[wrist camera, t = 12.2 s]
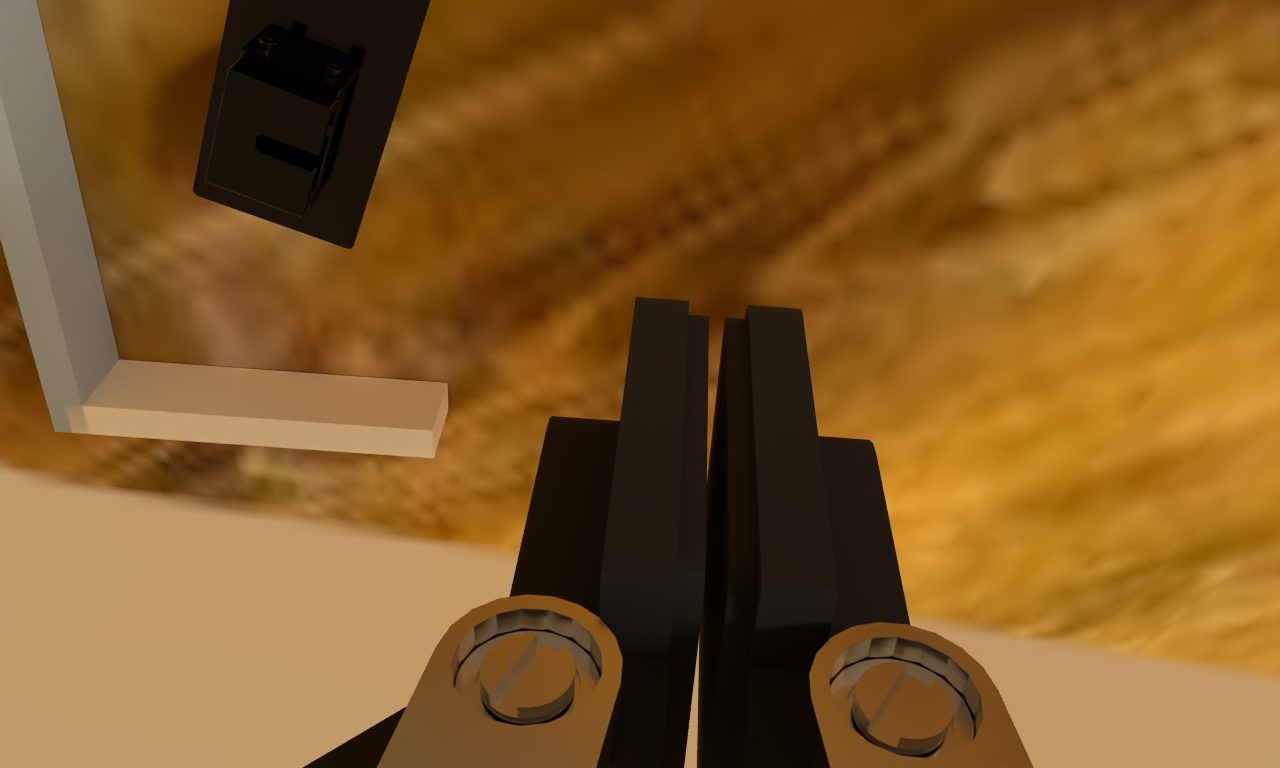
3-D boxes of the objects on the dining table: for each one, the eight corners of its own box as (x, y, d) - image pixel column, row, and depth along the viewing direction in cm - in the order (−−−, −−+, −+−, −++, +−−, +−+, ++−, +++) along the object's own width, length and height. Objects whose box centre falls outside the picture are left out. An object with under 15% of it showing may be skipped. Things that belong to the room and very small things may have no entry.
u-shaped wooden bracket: (428, -168, 30) (406, -153, 27) (448, 409, 40) (433, 458, 38) (-56, -208, 29) (-123, -196, 27) (93, 384, 40) (55, 431, 38)
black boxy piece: (368, 287, 38) (333, 358, 35) (161, 212, 37) (101, 277, 33) (475, -50, 32) (447, -9, 28) (228, -158, 30) (164, -130, 27)
